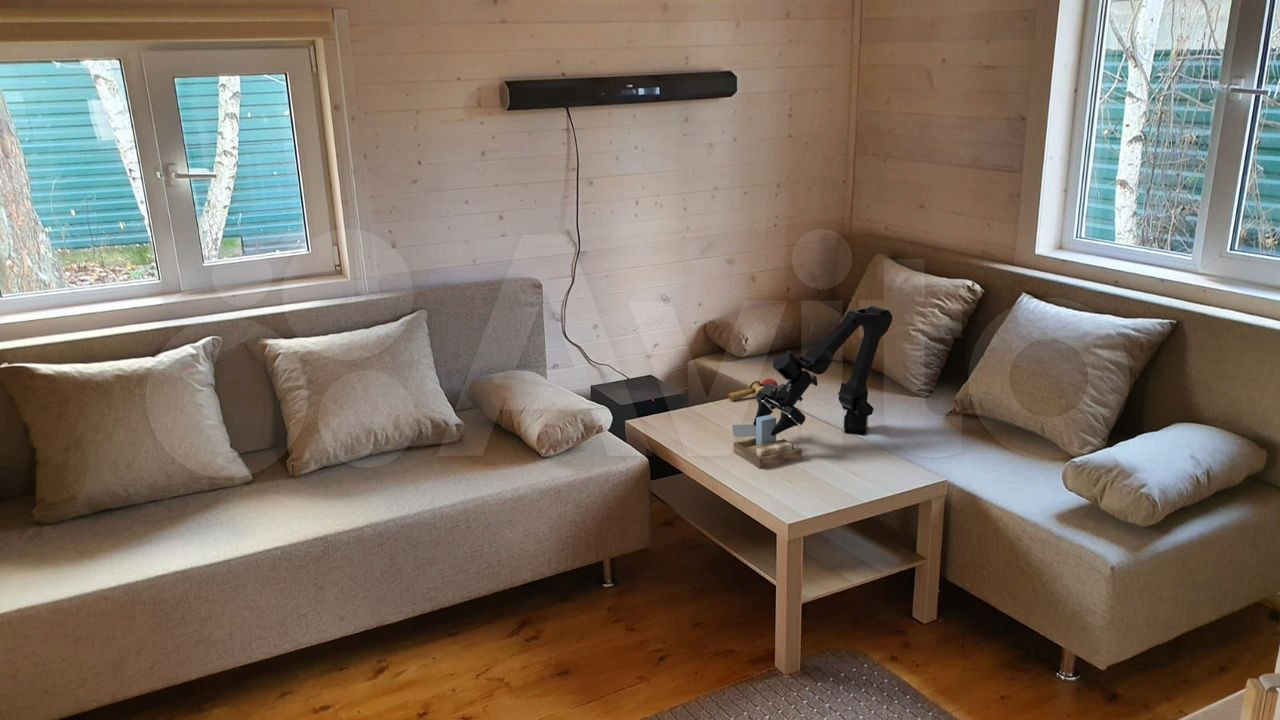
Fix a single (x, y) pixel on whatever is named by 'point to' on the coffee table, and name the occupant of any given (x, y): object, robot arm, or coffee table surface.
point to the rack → (748, 453)
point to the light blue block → (765, 429)
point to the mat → (744, 430)
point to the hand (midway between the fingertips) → (762, 430)
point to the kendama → (751, 389)
